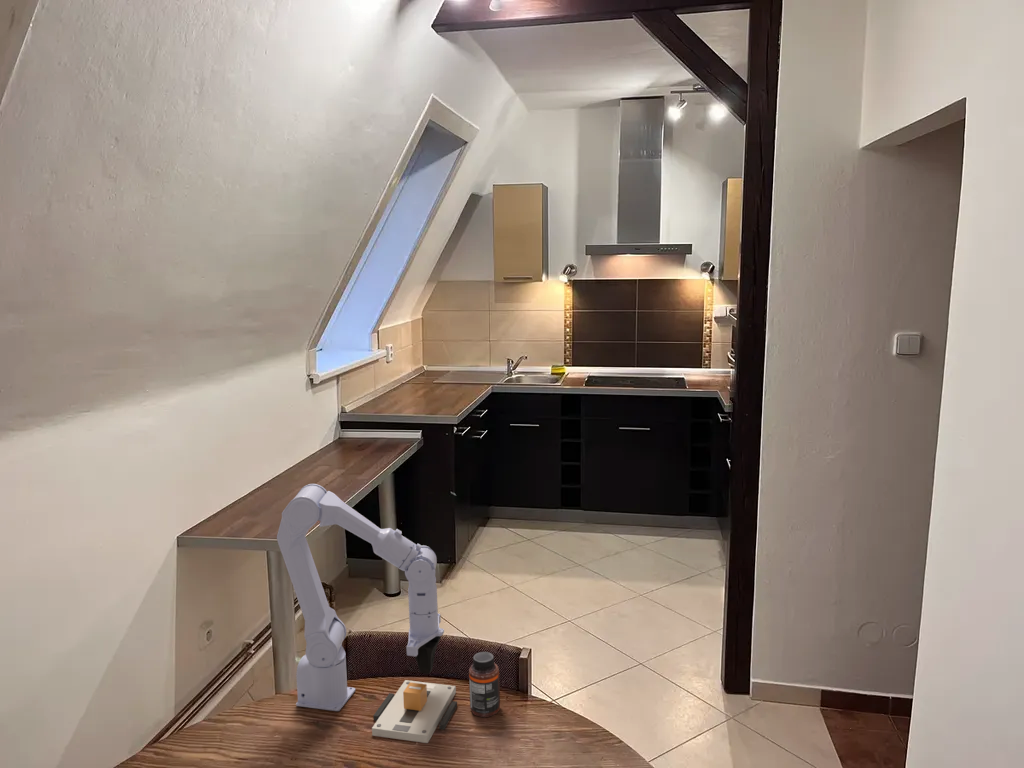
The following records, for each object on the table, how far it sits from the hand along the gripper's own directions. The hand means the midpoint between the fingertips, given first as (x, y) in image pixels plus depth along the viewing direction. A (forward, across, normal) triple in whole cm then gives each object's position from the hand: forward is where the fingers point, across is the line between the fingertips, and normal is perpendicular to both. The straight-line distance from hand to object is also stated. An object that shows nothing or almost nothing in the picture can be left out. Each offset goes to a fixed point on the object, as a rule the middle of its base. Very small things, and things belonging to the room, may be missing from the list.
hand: (425, 671), depth 154 cm
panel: (+5, -6, 0) cm, 8 cm away
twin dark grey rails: (+5, -6, 0) cm, 8 cm away
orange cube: (+4, -6, 0) cm, 7 cm away
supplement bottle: (+6, -2, -13) cm, 14 cm away
